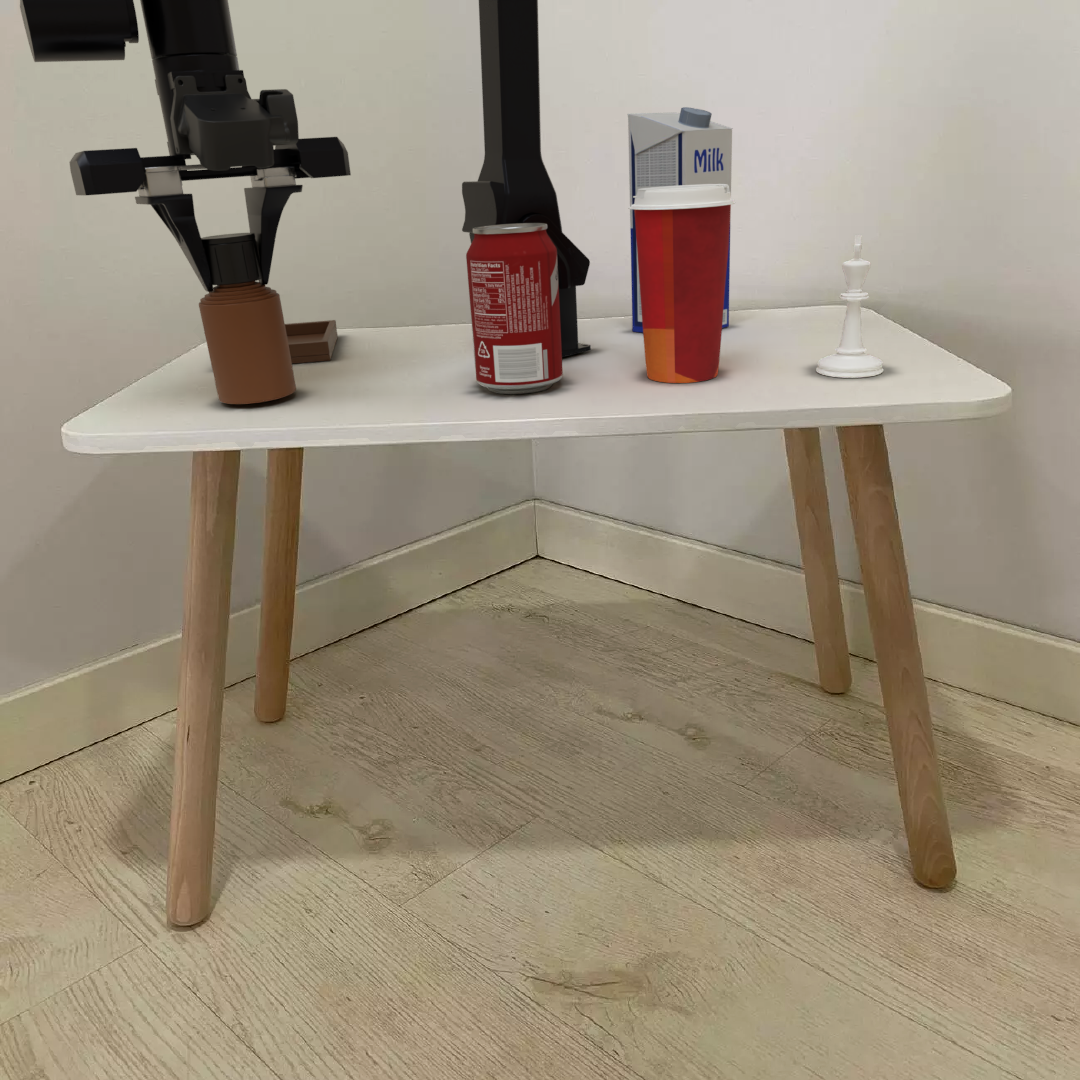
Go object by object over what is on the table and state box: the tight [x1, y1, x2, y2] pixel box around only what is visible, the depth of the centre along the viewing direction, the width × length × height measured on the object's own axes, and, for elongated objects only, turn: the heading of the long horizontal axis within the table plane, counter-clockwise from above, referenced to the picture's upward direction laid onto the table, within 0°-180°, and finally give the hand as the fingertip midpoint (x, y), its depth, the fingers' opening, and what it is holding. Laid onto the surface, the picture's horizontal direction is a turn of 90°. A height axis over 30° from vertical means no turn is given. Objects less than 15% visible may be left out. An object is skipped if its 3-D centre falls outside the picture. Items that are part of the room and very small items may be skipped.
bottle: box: [198, 281, 297, 405], centre depth 73 cm, size 6×6×12 cm
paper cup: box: [628, 184, 736, 384], centre depth 72 cm, size 8×8×14 cm
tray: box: [285, 319, 339, 365], centre depth 94 cm, size 13×10×2 cm
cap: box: [201, 232, 262, 286], centre depth 71 cm, size 4×4×3 cm
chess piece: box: [815, 234, 884, 379], centre depth 71 cm, size 5×5×10 cm
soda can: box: [465, 223, 564, 395], centre depth 72 cm, size 7×7×12 cm
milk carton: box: [627, 106, 734, 334], centre depth 90 cm, size 7×7×20 cm
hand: (236, 287), depth 72 cm, fingers closed on cap, 4 cm apart
